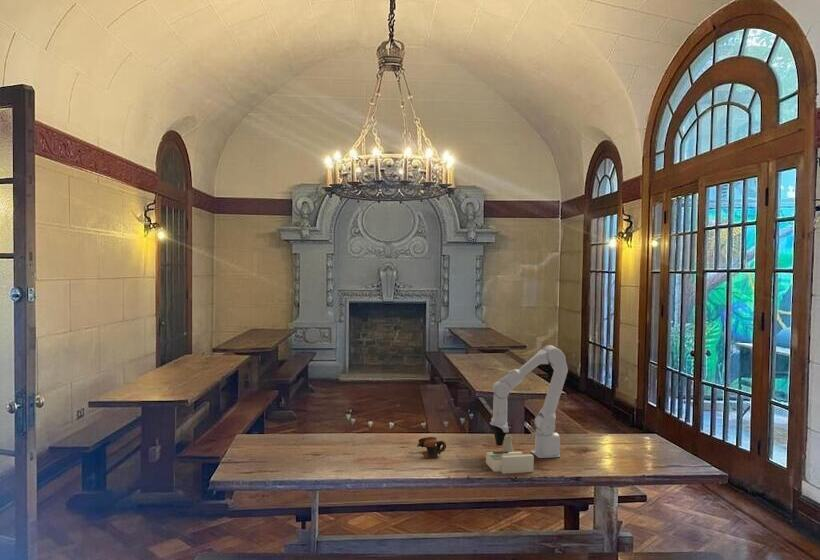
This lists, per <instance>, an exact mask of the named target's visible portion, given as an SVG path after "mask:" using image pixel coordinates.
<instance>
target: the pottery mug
mask: <svg viewBox="0 0 820 560" xmlns="http://www.w3.org/2000/svg"><path fill="white" fill-rule="evenodd" d="M418 447H419V448H420V447H421V448H426V451H424V452H423V453H422V457H423V459H429V458H431V459H434V458H438V456H439V455H441V453H443V452H444V451H445V450H446V448H447V444H446V442H445V441H444V440H438V439H437V437H435V436H426V437H423V438H419V439H418V444H417V446H416V448H418Z"/></svg>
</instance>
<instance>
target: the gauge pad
mask: <svg viewBox="0 0 820 560" xmlns="http://www.w3.org/2000/svg"><path fill="white" fill-rule="evenodd" d="M493 454H498V455H499V454H500V456H507V455H524V453H523V451H514V452H508V451H502V450H501V451H494V452H493Z"/></svg>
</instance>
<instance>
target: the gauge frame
mask: <svg viewBox="0 0 820 560" xmlns="http://www.w3.org/2000/svg"><path fill="white" fill-rule="evenodd" d="M493 452H495V451H494V450H489V451H486V452H485V453H486V454H485V464H486V465H487V467H489V468H490V469H491V470H492V471H493V472H494V473H495V472H501V474H503V475H504V474H505V475H506V474H521V473H534V465H535V462H534V460H535V459H534V458H535V457H534V456H535V455H534V454H533V453H529V454H523V455H507V456H501V455H500V456H501V457H500V456H499V454H493Z"/></svg>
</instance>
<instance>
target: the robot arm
mask: <svg viewBox="0 0 820 560" xmlns="http://www.w3.org/2000/svg"><path fill="white" fill-rule="evenodd" d="M549 364H550V366H551V368H552V369H553V372H552V376H551V380H550V382H549V385H548V386H549V387H548V389H547V393H546V395H545V399H544V402H543V405H542V407H541V408H540V410H539V412H538V414H537V415H536V416H535V418H534V419H533V420H534V421H533V422H534V425H535V427H536V429H535V433H534V436H535V438H534V450H530V452H531V454H532V455H533V456H536V457H537V458H538V459H547V458H548V459H550V458H560V457H561V453H560V452H561V437H560V435H559V433H558V432H557V431H556V419H557V417H556V416H557V415H556V411H557V407H558V405H559V401H560V398H561V395H562V392H563V389H564V386H565V385H564V384H565V382H566V380H567V375H568V373H569V367H568V363H567V359H566V355H565V353H564V352H563V351H562V349H560V348H558V347H555V345H552V344H548V345H544V347H543V348H542V349H539V350H538V351H537V353H535V354H534V355H533V356H531V358H529V360H527V361H526V362H525V363H524V364H523V365H522V366H521V367H519V368H518V369H517V368H514V369H510V370H509V371H508V373H507V374H506V375H505V376H504V377H501V378H499V380H498V381H495V382H494V383H493V385H492V387H491V391H492V392H493V399H492V417H491V420H490V421H489V425H491V430H492V431H493V434H494V435H493V436H494V440H495V444H496V446H504V445H503V444H504V442H505V439H504V437H505V436H507V434H508V433H509V431H510V429H509V426H508V424H509V423H508V404H509V403H508V397H509V395H510V392H511V391H512V390H513V389H515V388H516V387H517V386H518V385H520V384H521V383H522V382H523V381H524V379H525V376H526V375H527V374H529V373H530V372H531V371H533V370H535V369H536V368H537V367H538V366H540V365H549ZM555 431H556V432H555Z"/></svg>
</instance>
